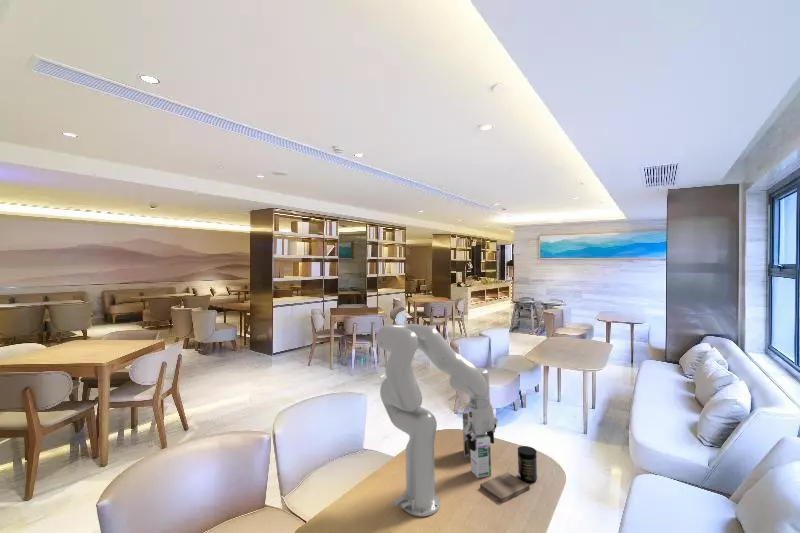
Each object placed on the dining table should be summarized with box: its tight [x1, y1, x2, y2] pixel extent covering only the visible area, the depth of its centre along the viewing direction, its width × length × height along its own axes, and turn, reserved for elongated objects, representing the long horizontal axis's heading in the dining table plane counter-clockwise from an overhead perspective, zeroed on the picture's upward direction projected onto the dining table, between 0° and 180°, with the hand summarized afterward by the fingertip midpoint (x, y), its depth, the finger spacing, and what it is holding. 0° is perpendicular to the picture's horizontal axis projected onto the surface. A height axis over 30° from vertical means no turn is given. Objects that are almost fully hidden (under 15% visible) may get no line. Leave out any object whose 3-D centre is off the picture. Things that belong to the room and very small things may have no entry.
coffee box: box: [462, 412, 473, 459], centre depth 153 cm, size 9×6×16 cm
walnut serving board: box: [479, 472, 531, 504], centre depth 128 cm, size 14×10×2 cm
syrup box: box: [470, 432, 492, 479], centre depth 138 cm, size 6×6×14 cm
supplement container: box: [517, 445, 538, 484], centre depth 134 cm, size 7×7×10 cm
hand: (481, 445), depth 139 cm, fingers open, 9 cm apart
